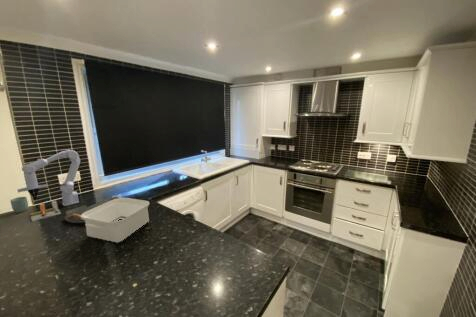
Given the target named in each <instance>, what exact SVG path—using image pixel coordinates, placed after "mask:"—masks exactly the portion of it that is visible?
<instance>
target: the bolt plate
mask: <svg viewBox="0 0 476 317" xmlns="http://www.w3.org/2000/svg"><path fill="white" fill-rule="evenodd" d="M61 214H62V213H61V210H60V209H58V211H56V210H54V211H50V212H46V213H45V215H44V214H43V213H42V214H38V215H34V216H31V215H30V219H31V222H36V221H39V220H43V219H47V218H50V217H55V216H59V215H61Z"/></svg>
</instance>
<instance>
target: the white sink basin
mask: <svg viewBox="0 0 476 317" xmlns="http://www.w3.org/2000/svg"><path fill="white" fill-rule="evenodd" d="M149 206H150V202H149V201H148V200H144V199H136V198H130V197H121V198H117V199H114V200H111V201H109V202H107V203H104V204H102V205H100V206H97V207H95V208H93V209H91V210H88V211H86V212H84V213H83V214H82V215H81V217H82V219H83V220H85V222H86V224H85V223H84V226H85V229H86V235H87V237H89V238H92V239H96V238H97V239H98V240H101V239H102V240H101V241H105V240H106V241H105V242H109V241H111V243H114V242H115V244H120V243H119V242H121V241H122V242H124V241H125V240H127V239H128V238H129V237H131V236H132V235H133V234H132V233H134V232H135V231H136V230H138V229H139V228H141V227H142V226H143V225H145V224H146V223H147V222H148V223H149V222H150V217H149V209H148V208H149ZM119 219H122V220H119ZM118 220H119V221H118ZM146 225H147V224H146ZM146 225H145V226H146ZM143 227H144V226H143ZM143 227H142V228H143ZM142 228H141V229H142ZM139 230H140V229H139ZM139 230H138V231H139ZM136 232H137V231H136ZM136 232H135V233H136ZM135 233H134V234H135ZM131 234H132V235H131ZM130 235H131V236H130ZM128 236H129V237H128ZM127 237H128V238H127ZM126 238H127V239H126ZM97 239H96V240H97ZM124 239H125V240H124ZM123 240H124V241H123ZM122 242H121V243H122Z"/></svg>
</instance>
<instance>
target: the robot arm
mask: <svg viewBox="0 0 476 317" xmlns="http://www.w3.org/2000/svg"><path fill="white" fill-rule="evenodd" d="M67 158H68V159H69V161H70V162H71V164H70V166H69V170H68V172H67V175H66V177H65V180H64V182H62V184H61V185H60V187H59V189H60V191H61V198H62V202H61V204H62V206H64V207H65V206H66V207H67V206H70V205H74V204H78V203H79V202H80V201H79V196H78V192H77V191H74V186H75V184H74V183H75V182H74V181H75V178H76V175H77V173H78V170H79V167H80V164H81V158H80V154H79V153H78V152H77V151H75V150H72V149H65V150H62V151H60V152H58V153H56V154H54V155H51V156H49V157H47V158H37V160H35V161H32V162H29V164H24V165H23V166H22V167H21V171H22V172H23V176H24V177H23V178H24V181H25V185H26V187H22V188H18V189H17V193H23V192H27V193H29V194H30V195H31V197H32V198H33V200H37V199H38V198H37V197H38V193H39V191H40V189H44V188H48V184H45V183H44V184H39V182H38V178H37V174H36V171H38V170H40V169H42V168H44V167H47V166H48V165H49V163H52V162H54V161H57V160H59V159H67Z"/></svg>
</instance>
